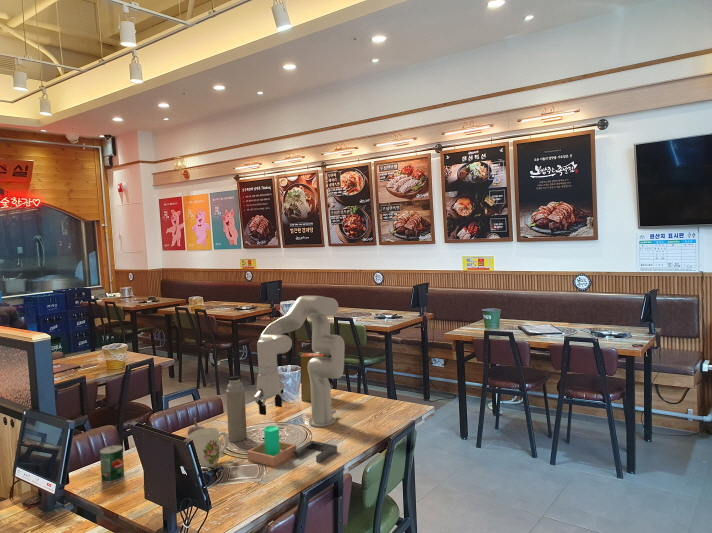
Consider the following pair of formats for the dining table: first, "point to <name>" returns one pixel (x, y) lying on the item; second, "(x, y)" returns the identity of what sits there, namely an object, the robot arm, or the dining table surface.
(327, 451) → the dock
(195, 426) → the garlic bulb
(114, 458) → the canned tomato
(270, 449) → the candle
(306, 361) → the food packaging
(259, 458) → the tray
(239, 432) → the thermos bottle
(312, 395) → the robot arm
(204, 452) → the pitcher
